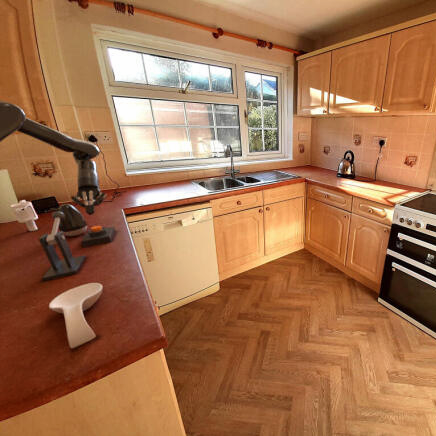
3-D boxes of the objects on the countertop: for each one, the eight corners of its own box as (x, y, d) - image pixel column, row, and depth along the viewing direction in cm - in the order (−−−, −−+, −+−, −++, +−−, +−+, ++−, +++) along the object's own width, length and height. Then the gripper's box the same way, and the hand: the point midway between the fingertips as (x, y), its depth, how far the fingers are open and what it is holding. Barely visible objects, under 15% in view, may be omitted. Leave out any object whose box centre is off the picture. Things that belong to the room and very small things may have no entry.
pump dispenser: (62, 234, 117) (48, 204, 111) (88, 227, 123) (77, 199, 118) (62, 241, 110) (48, 209, 104) (91, 233, 116) (79, 203, 111)
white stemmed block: (45, 225, 128) (32, 198, 122) (39, 230, 122) (25, 202, 116) (27, 228, 125) (13, 201, 119) (20, 234, 119) (5, 205, 113)
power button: (93, 230, 110) (92, 226, 109) (103, 228, 112) (101, 224, 111) (91, 233, 107) (90, 229, 106) (101, 231, 109) (100, 227, 108)
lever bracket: (56, 263, 92) (40, 231, 87) (85, 257, 95) (72, 225, 90) (43, 281, 82) (24, 245, 77) (76, 273, 85) (61, 238, 80)
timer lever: (55, 216, 93) (50, 210, 90) (66, 215, 94) (62, 208, 92) (48, 246, 84) (42, 240, 81) (60, 244, 85) (55, 238, 83)
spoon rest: (54, 305, 71) (44, 284, 68) (103, 286, 78) (96, 268, 75) (53, 359, 54) (39, 335, 51) (115, 330, 61) (106, 308, 58)
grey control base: (90, 236, 114) (86, 227, 112) (115, 231, 118) (112, 223, 116) (83, 247, 104) (79, 237, 102) (111, 241, 108) (107, 232, 106)
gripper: (65, 178, 106) (67, 212, 100) (102, 174, 111) (105, 207, 106) (74, 187, 112) (75, 220, 107) (108, 183, 118) (111, 214, 112)
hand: (90, 213), depth 106 cm, fingers closed
